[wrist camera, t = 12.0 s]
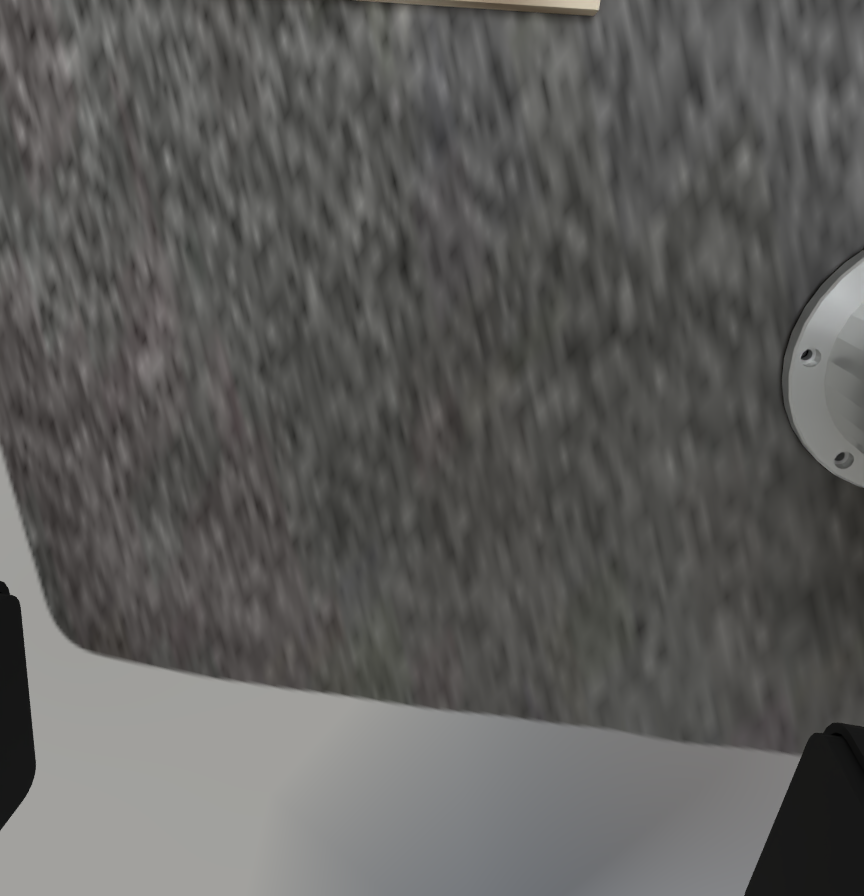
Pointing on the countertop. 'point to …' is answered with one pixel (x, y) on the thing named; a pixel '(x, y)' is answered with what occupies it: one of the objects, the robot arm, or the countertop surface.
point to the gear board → (514, 5)
